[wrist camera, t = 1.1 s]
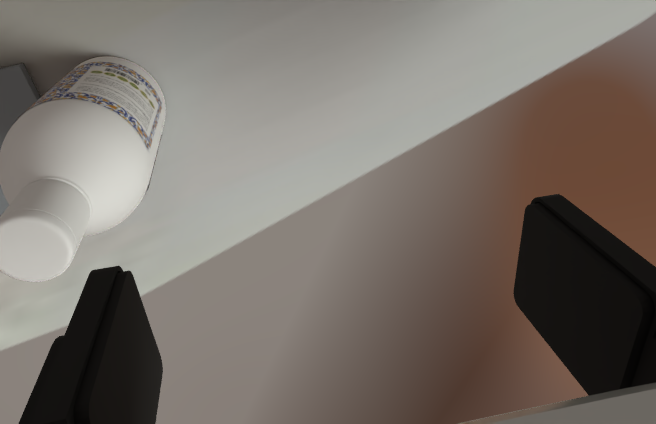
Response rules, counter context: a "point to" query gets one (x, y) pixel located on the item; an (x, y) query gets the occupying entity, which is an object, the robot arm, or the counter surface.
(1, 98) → the mat
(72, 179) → the bath foam
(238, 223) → the counter surface
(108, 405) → the robot arm
